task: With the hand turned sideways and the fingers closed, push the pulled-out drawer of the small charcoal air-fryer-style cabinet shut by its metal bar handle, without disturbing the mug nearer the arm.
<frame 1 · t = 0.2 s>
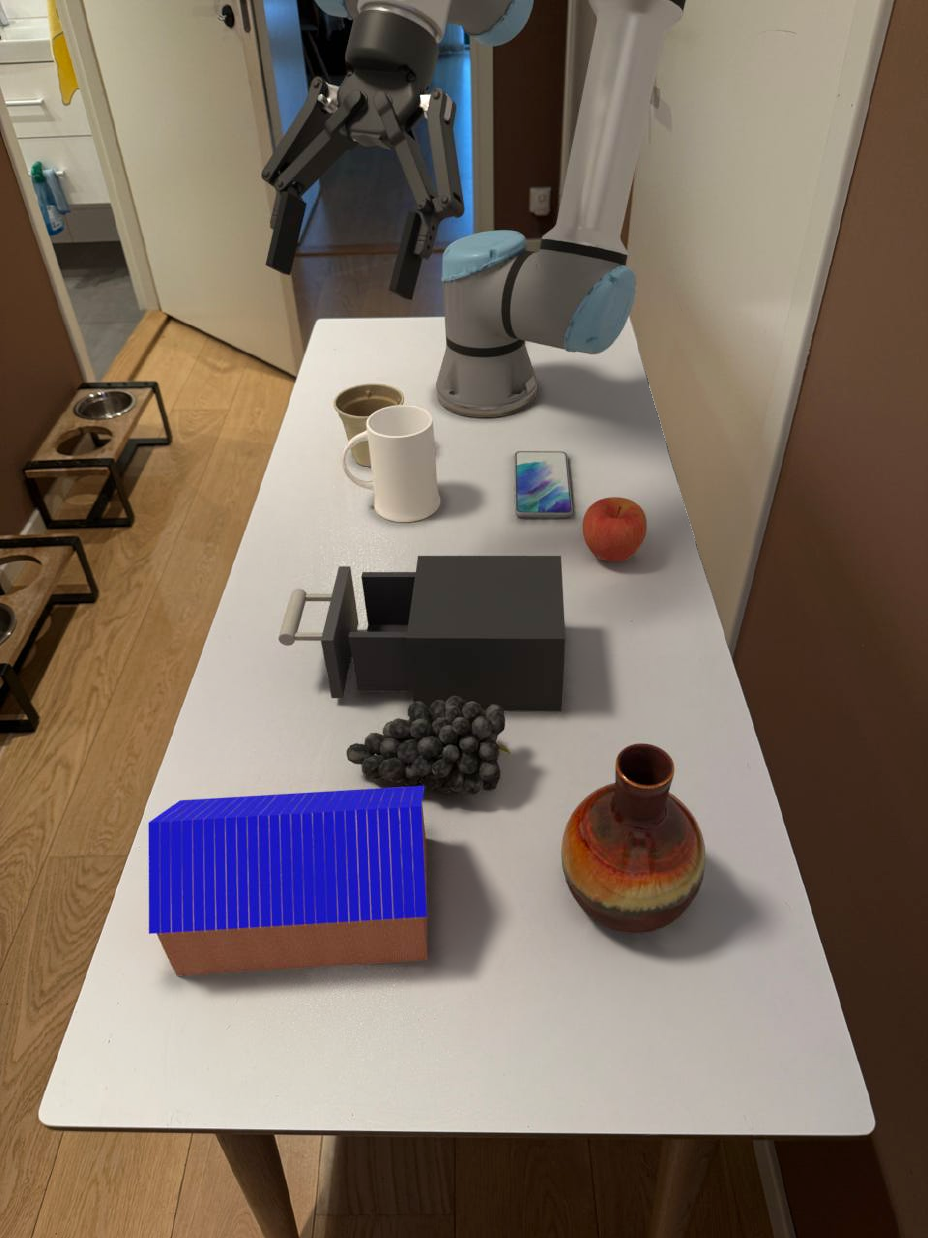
hand: (336, 282, 82), 36 cm above the table, tool tilted 35°, fingers open, 13 cm apart
smartphone: (541, 487, 121), on the table
mug: (394, 505, 119), on the table
flower pot: (375, 457, 128), on the table
drawer: (377, 631, 93), point 5 cm above the table, slide at 7.0 cm
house: (308, 904, 75), on the table
fruit: (431, 772, 85), on the table
cabinet: (489, 666, 96), on the table
vase: (627, 889, 75), on the table
apple: (611, 557, 109), on the table
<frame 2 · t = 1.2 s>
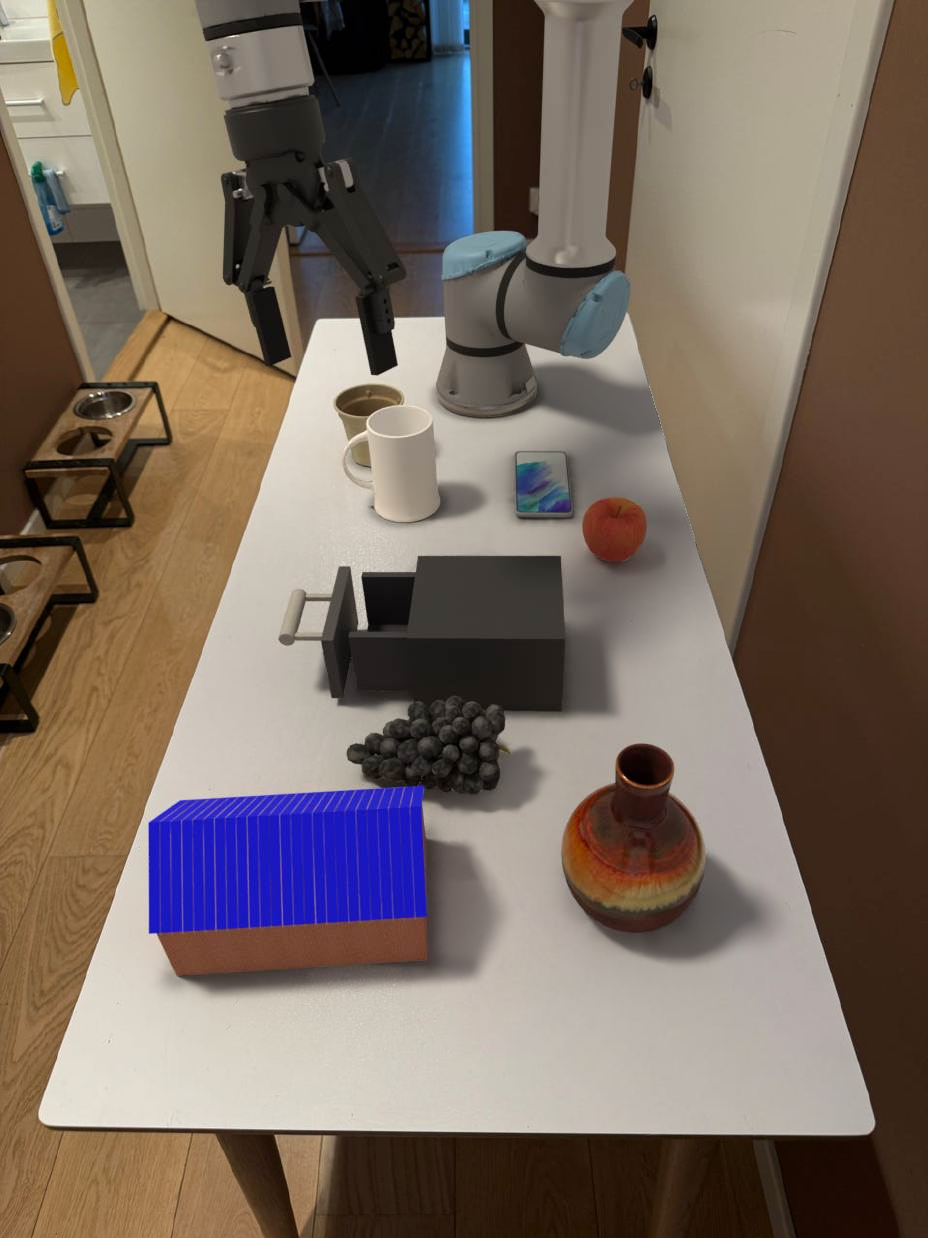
hand: (329, 365, 83), 30 cm above the table, tool pointing down, fingers open, 13 cm apart
nothing on the table moved.
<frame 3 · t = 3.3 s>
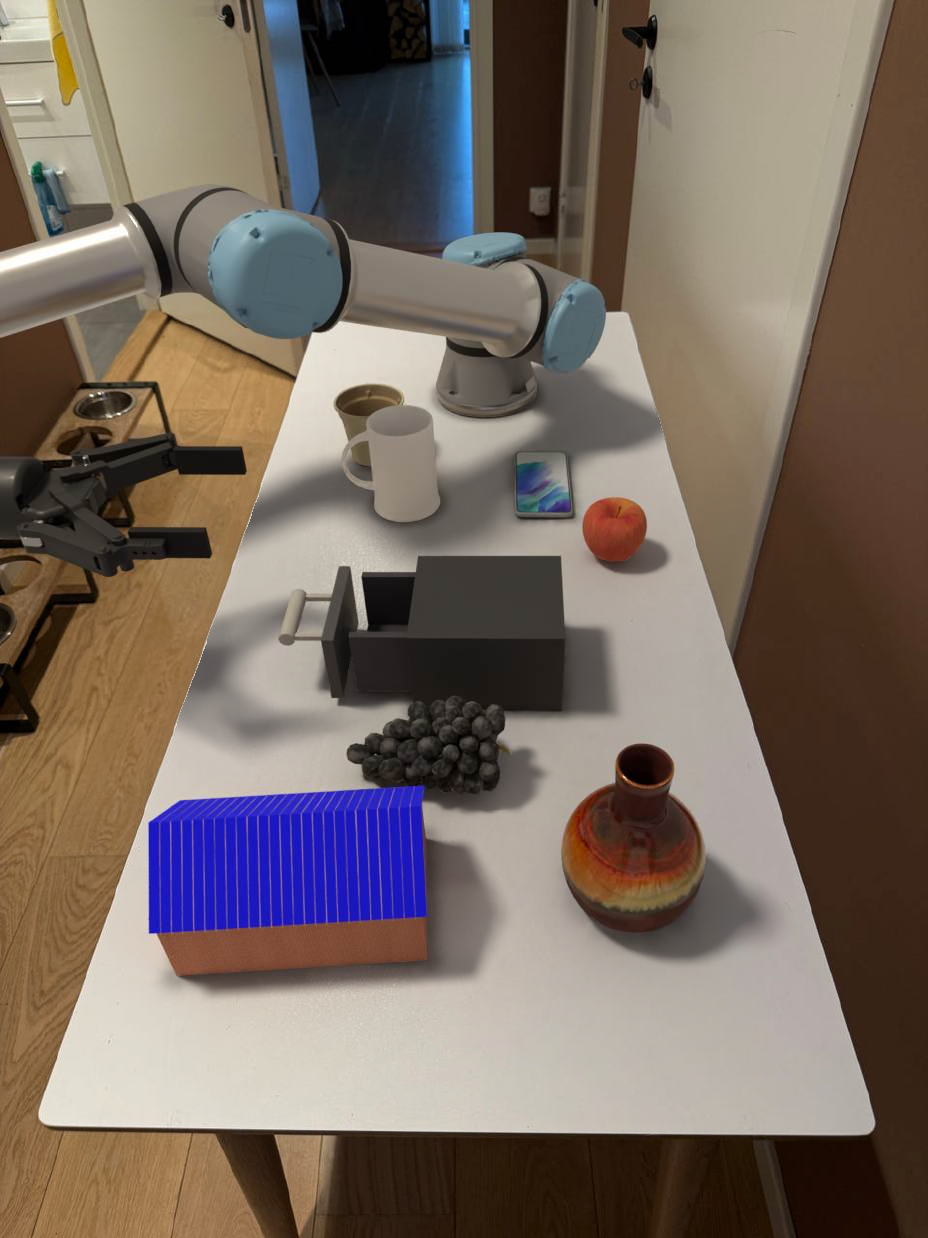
hand: (227, 499, 84), 21 cm above the table, tool horizontal, fingers open, 13 cm apart
nothing on the table moved.
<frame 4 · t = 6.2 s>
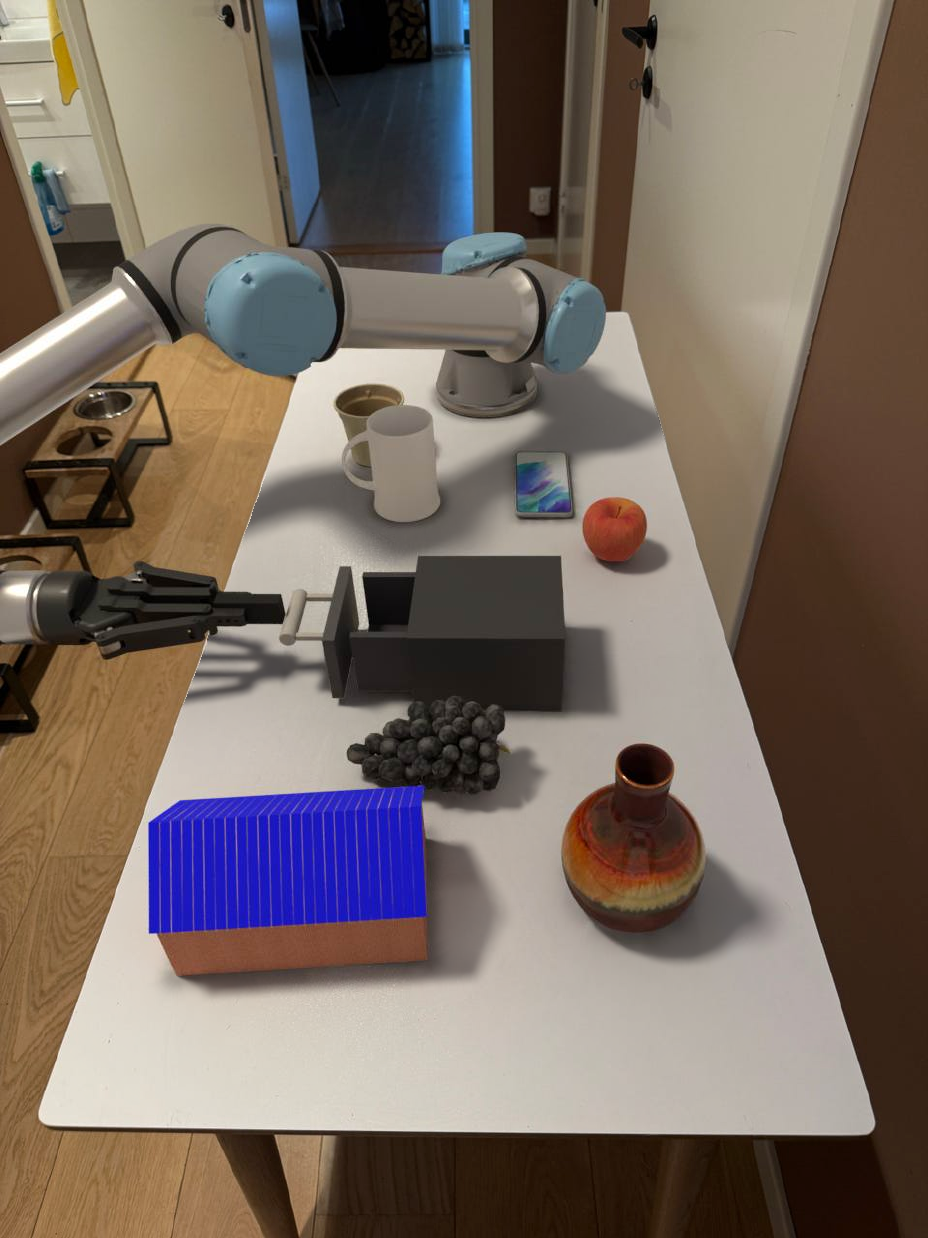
hand: (281, 609, 92), 8 cm above the table, tool horizontal, fingers closed
drawer: (378, 631, 93), point 5 cm above the table, slide at 6.9 cm, touching gripper
everything else where it was.
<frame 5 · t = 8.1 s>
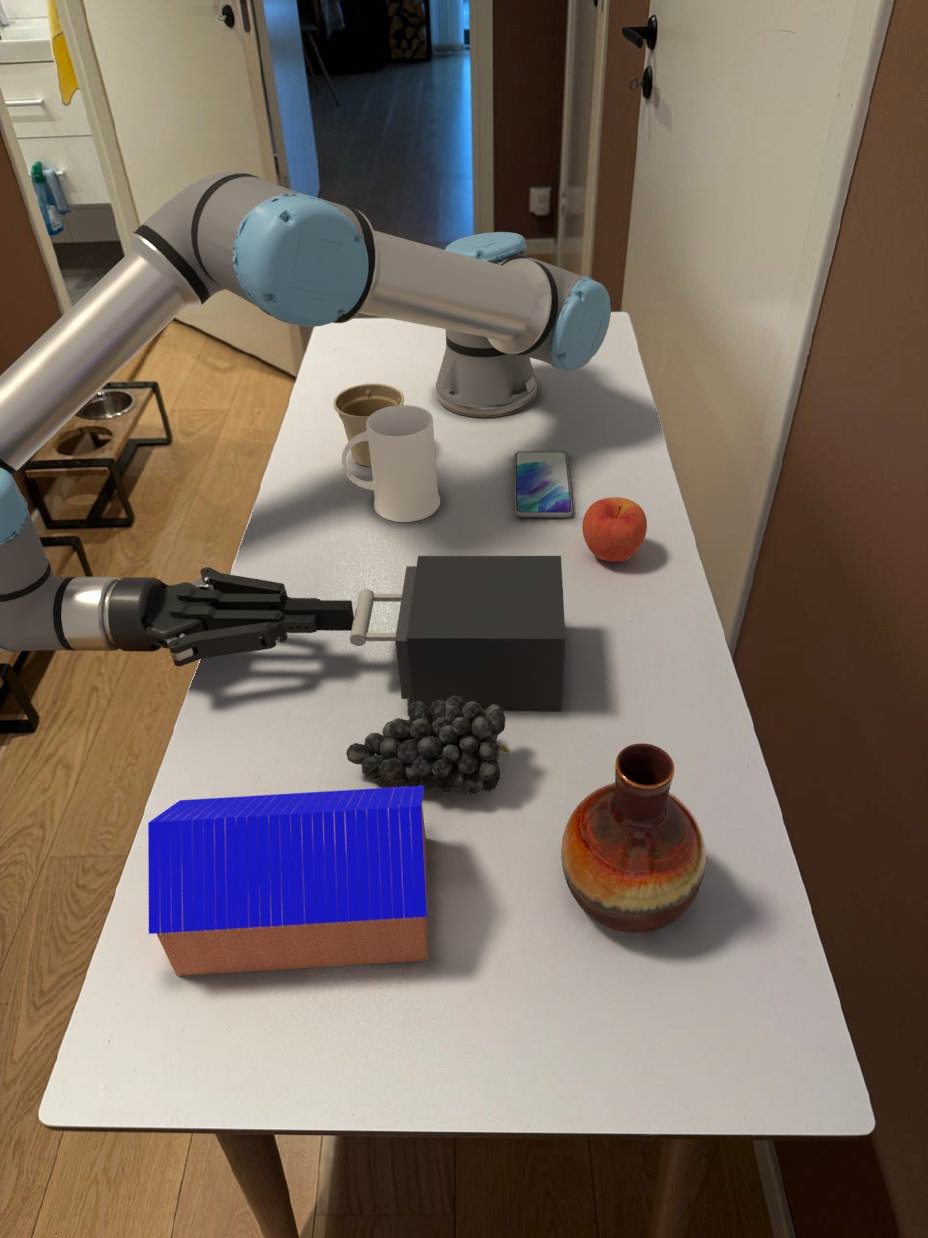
hand: (351, 615, 92), 7 cm above the table, tool horizontal, fingers closed
drawer: (447, 631, 93), point 5 cm above the table, slide at 0.0 cm, touching cabinet, gripper
everything else where it was.
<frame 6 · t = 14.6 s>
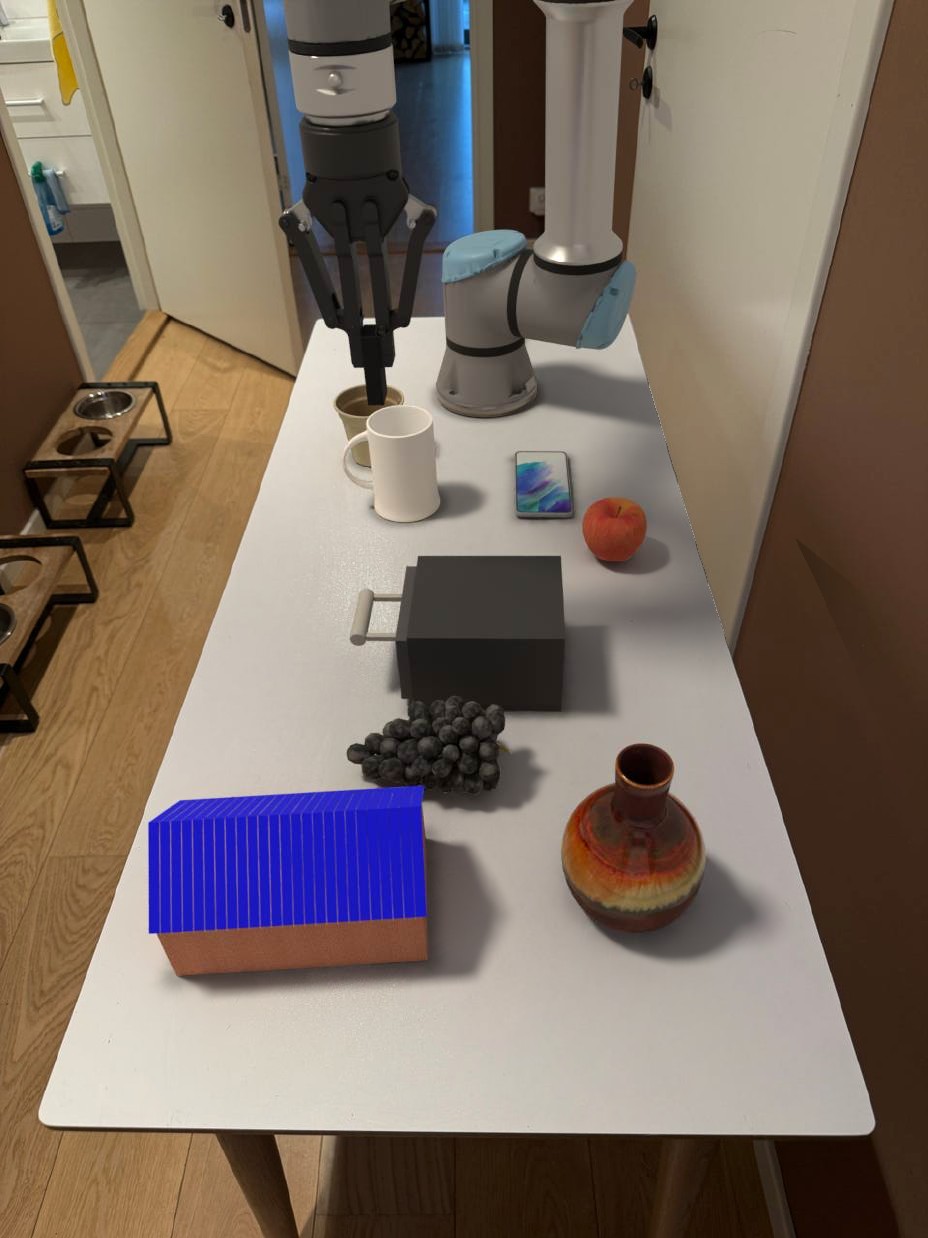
hand: (377, 398, 85), 26 cm above the table, tool pointing down, fingers closed
drawer: (447, 631, 93), point 5 cm above the table, slide at 0.0 cm, touching cabinet
everything else where it was.
at the end: drawer slide at 0.0 cm; mug moved 0.2 cm from its start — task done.
